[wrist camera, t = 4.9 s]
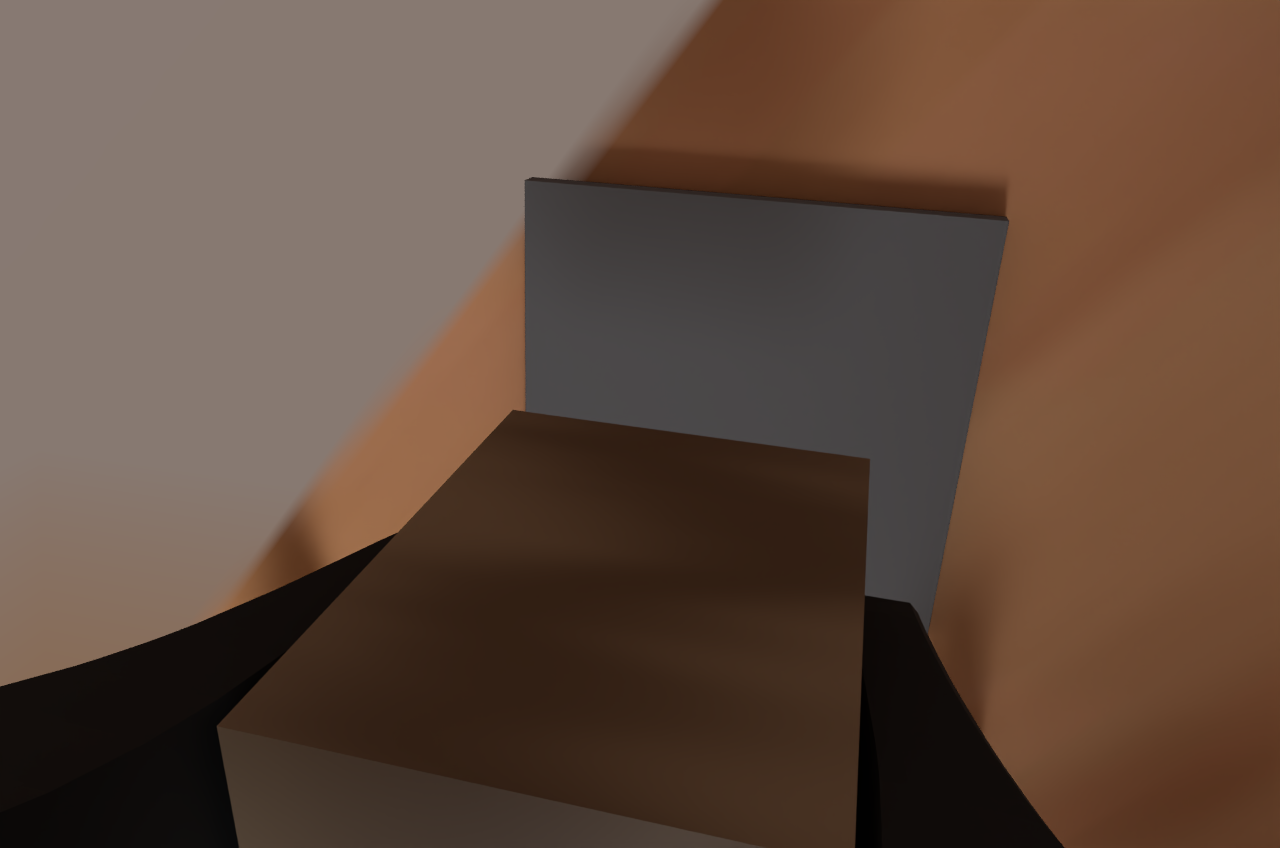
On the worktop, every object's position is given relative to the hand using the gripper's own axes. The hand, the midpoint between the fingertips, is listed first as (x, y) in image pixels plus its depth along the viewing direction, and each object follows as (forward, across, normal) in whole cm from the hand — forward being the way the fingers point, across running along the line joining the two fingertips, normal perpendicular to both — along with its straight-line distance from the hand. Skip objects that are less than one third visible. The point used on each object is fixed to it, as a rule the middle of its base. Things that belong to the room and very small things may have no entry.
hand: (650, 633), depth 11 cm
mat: (+7, 0, 0) cm, 7 cm away
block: (+2, 0, 0) cm, 2 cm away
